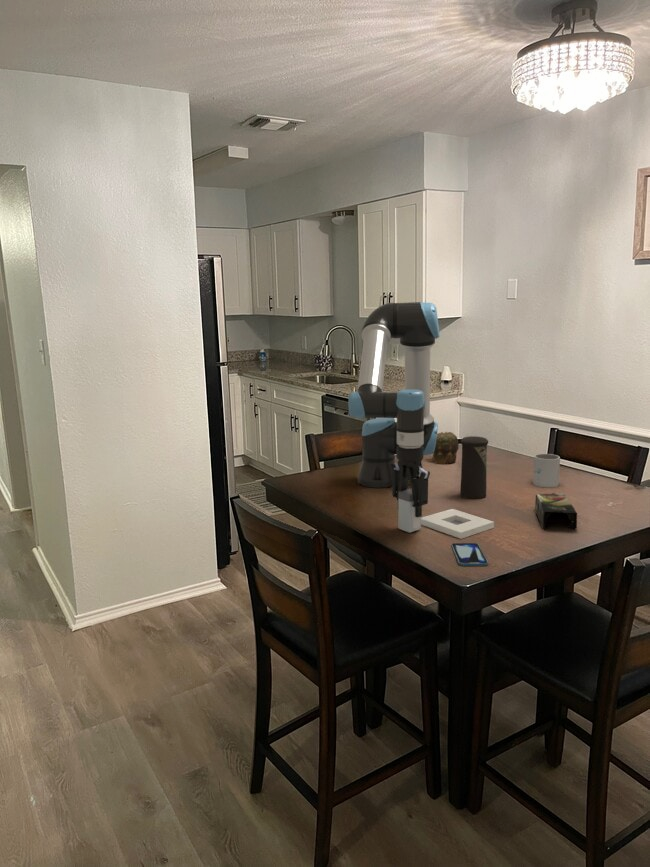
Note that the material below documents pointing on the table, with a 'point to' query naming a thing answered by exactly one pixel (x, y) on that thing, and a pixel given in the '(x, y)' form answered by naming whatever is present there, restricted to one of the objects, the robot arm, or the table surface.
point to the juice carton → (554, 507)
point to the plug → (406, 511)
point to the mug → (546, 470)
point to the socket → (457, 523)
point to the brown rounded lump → (445, 448)
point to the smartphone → (469, 554)
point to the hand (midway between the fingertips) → (409, 524)
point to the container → (473, 467)
